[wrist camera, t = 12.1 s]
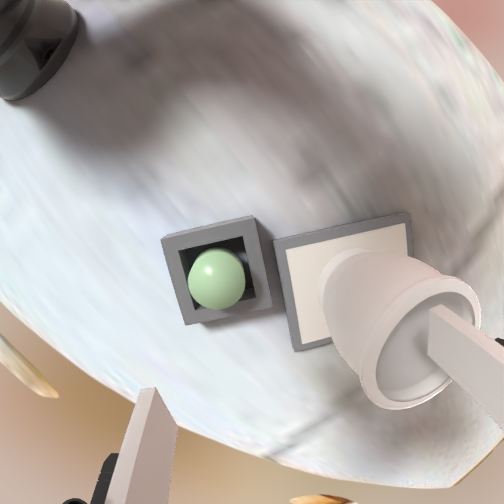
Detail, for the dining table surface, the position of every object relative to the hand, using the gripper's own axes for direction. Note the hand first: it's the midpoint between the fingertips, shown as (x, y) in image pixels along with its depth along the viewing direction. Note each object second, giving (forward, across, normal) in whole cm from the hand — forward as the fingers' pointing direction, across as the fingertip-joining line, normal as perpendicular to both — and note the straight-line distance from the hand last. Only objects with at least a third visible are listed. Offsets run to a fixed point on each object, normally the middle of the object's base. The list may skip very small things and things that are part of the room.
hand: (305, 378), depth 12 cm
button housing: (+20, -4, 0) cm, 20 cm away
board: (+20, +10, -5) cm, 22 cm away
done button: (+18, -4, +1) cm, 18 cm away
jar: (+18, +9, -5) cm, 21 cm away
